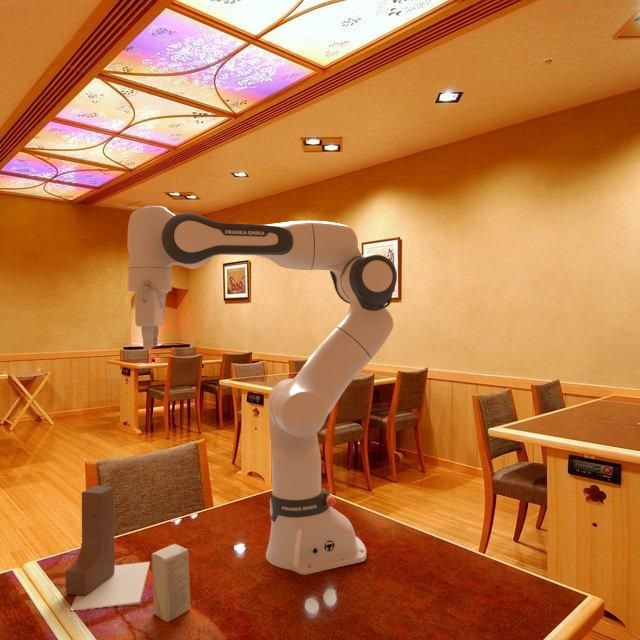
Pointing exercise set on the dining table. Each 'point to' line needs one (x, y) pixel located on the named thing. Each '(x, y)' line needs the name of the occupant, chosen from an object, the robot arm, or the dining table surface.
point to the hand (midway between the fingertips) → (150, 347)
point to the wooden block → (94, 542)
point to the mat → (116, 588)
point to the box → (171, 582)
